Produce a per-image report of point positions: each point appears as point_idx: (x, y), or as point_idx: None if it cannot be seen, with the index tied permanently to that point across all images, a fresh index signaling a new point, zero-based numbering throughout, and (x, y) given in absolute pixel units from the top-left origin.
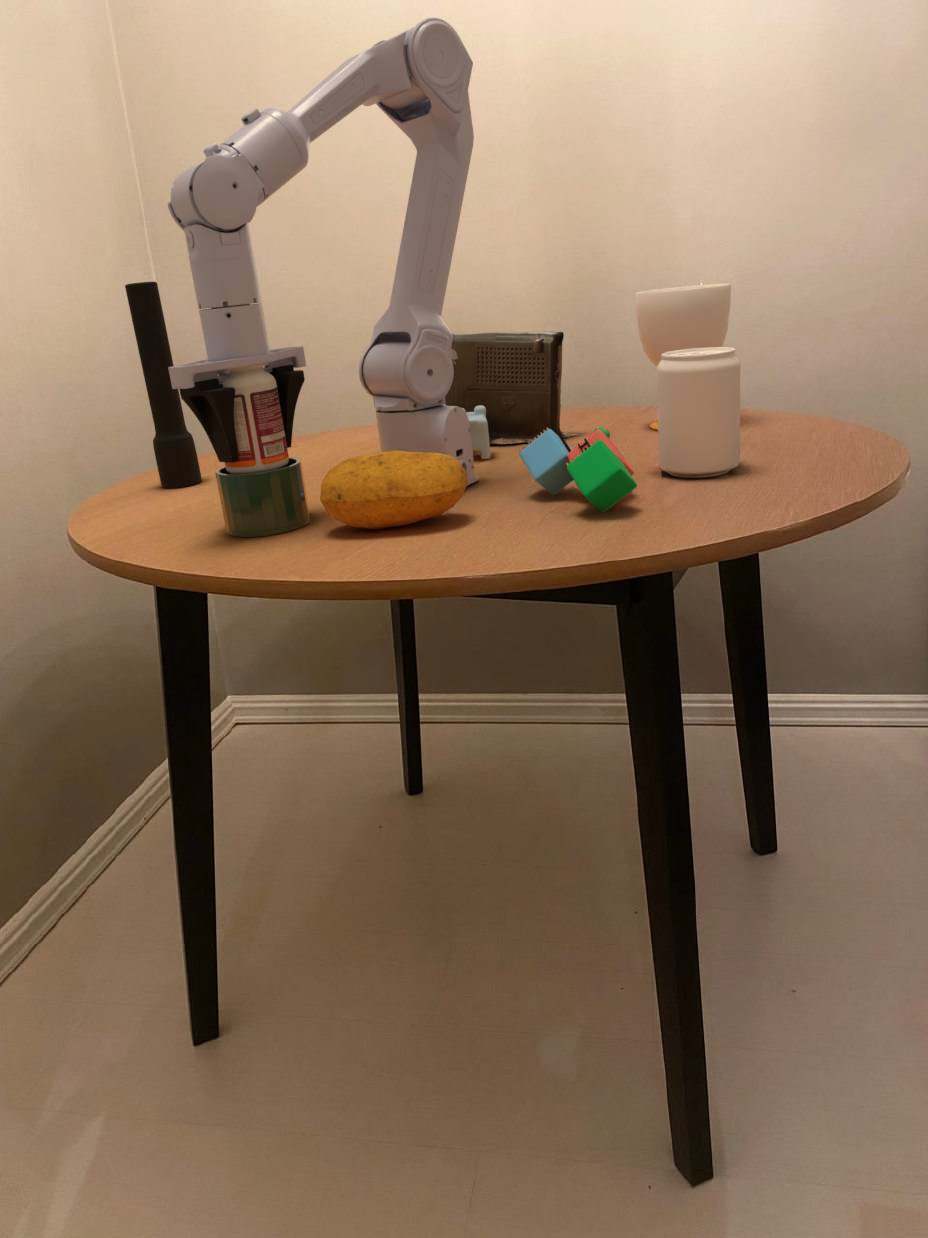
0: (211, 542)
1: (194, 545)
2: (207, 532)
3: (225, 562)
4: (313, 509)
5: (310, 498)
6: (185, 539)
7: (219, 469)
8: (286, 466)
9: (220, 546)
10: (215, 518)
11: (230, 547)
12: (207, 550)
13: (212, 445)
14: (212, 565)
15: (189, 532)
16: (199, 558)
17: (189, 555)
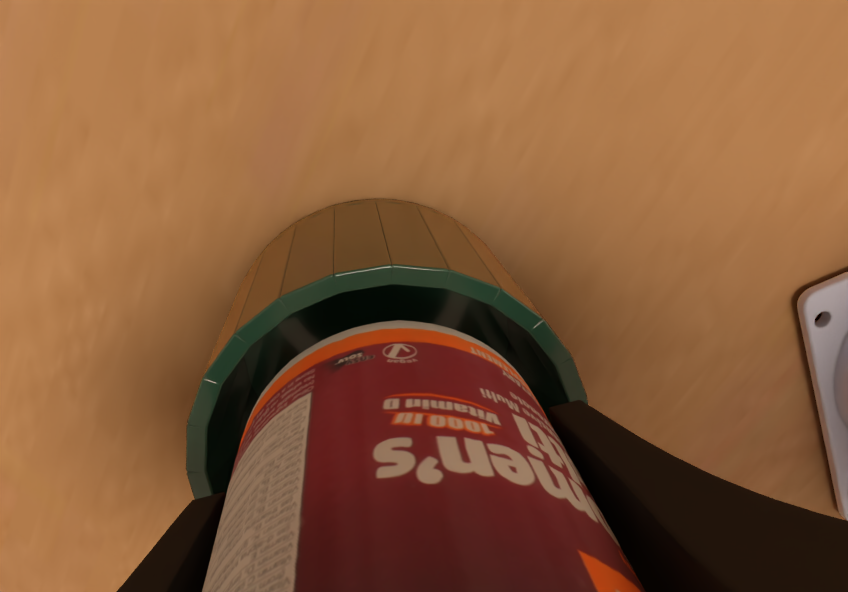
0: (151, 364)
1: (92, 349)
2: (189, 218)
3: (109, 589)
4: (593, 268)
5: (704, 86)
6: (90, 240)
7: (236, 357)
8: (555, 381)
9: (157, 433)
10: (301, 13)
11: (177, 468)
12: (108, 441)
13: (149, 553)
14: (71, 587)
15: (135, 147)
16: (60, 500)
17: (43, 447)
